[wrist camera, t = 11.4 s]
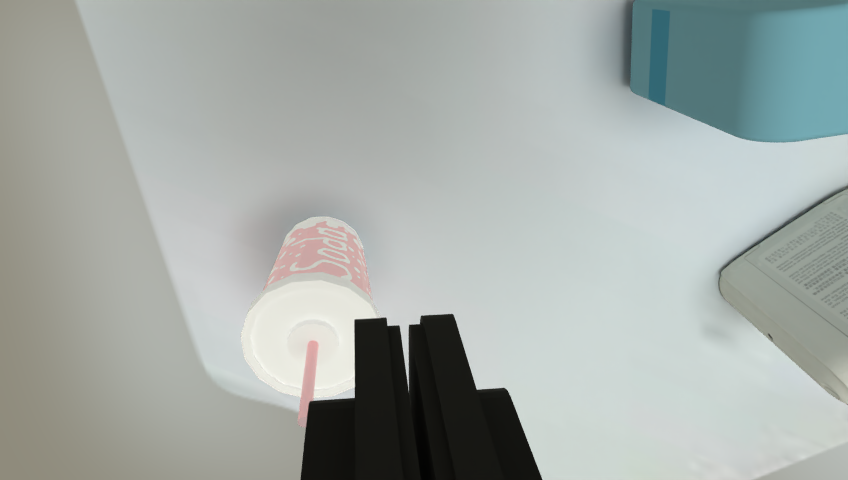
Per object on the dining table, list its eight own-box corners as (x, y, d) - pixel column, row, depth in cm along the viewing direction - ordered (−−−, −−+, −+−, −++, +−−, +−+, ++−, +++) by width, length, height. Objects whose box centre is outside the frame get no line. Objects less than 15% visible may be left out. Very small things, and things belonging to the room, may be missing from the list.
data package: (619, 89, 32) (758, 149, 21) (621, -1, 30) (775, 13, 19) (832, 58, 32) (1076, 101, 21) (847, -32, 30) (1124, -35, 19)
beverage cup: (396, 235, 34) (422, 393, 21) (343, 315, 35) (337, 505, 23) (300, 183, 32) (265, 322, 19) (249, 271, 34) (185, 451, 21)
